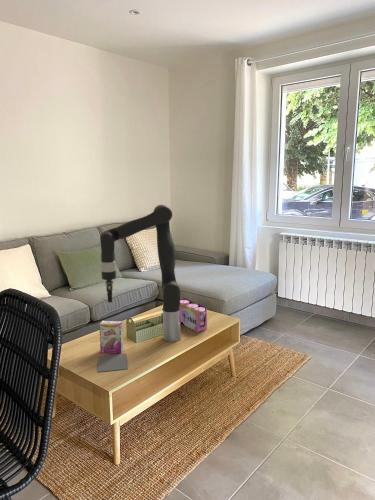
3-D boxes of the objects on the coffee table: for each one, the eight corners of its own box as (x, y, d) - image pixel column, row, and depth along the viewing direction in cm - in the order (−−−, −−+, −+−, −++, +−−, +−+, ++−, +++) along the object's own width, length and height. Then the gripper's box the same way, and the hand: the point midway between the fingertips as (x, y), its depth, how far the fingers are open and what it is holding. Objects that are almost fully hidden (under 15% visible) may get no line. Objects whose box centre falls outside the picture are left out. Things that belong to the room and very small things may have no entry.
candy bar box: (100, 353, 201) (98, 324, 198) (103, 349, 206) (101, 320, 203) (121, 354, 200) (120, 324, 197) (123, 350, 205) (122, 320, 202)
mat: (126, 353, 201) (126, 353, 201) (127, 369, 186) (127, 368, 185) (98, 356, 198) (98, 355, 198) (97, 372, 183) (97, 371, 183)
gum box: (208, 330, 231) (209, 308, 228) (198, 333, 226) (198, 311, 223) (185, 317, 250) (185, 297, 247) (175, 320, 245) (175, 300, 242)
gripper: (116, 272, 197) (117, 304, 200) (115, 266, 210) (116, 296, 214) (101, 273, 195) (102, 306, 199) (101, 266, 209) (102, 297, 212)
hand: (110, 300), depth 206 cm, fingers open, 3 cm apart
